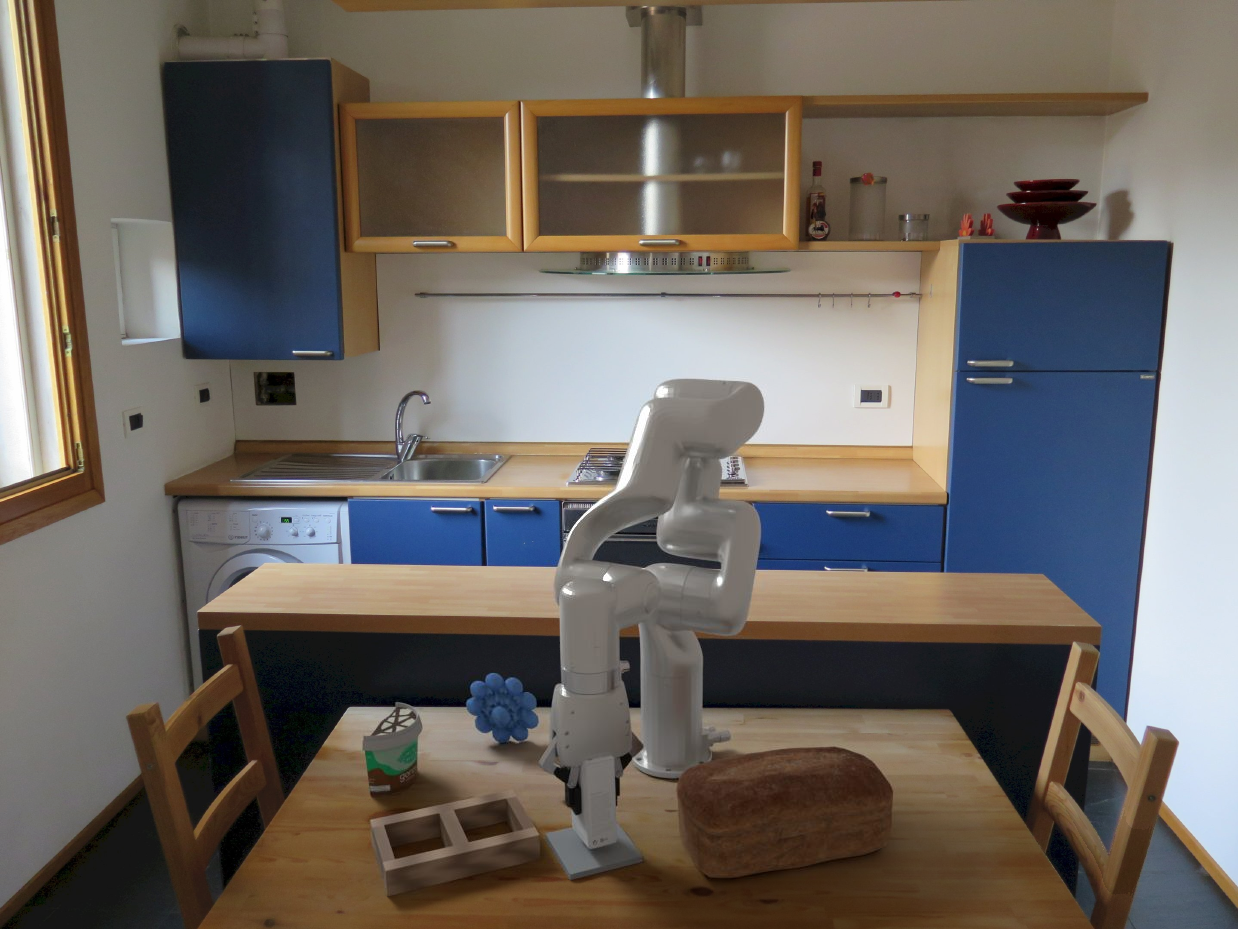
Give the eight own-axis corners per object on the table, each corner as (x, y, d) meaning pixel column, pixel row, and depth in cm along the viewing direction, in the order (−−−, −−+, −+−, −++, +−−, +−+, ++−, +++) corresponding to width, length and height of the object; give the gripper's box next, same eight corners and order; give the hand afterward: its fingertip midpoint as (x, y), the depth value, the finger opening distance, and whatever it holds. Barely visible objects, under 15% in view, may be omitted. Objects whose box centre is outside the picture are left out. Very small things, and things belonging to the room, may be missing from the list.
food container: (405, 805, 144) (401, 741, 142) (365, 801, 145) (361, 737, 143) (437, 763, 156) (434, 703, 154) (400, 760, 157) (397, 700, 155)
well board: (513, 812, 142) (512, 789, 141) (540, 859, 131) (539, 835, 130) (371, 843, 135) (369, 820, 134) (387, 896, 123) (385, 871, 123)
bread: (665, 835, 136) (665, 752, 134) (853, 804, 143) (856, 725, 141) (700, 896, 123) (700, 805, 121) (904, 859, 130) (908, 773, 128)
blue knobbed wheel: (463, 755, 158) (460, 685, 156) (470, 735, 165) (467, 667, 162) (537, 755, 158) (535, 684, 156) (540, 735, 165) (538, 667, 162)
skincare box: (618, 843, 130) (618, 757, 128) (587, 851, 129) (586, 764, 126) (599, 819, 136) (598, 737, 133) (568, 827, 134) (567, 744, 132)
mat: (613, 822, 139) (613, 817, 139) (642, 861, 130) (642, 856, 130) (545, 838, 135) (545, 833, 135) (570, 880, 126) (570, 874, 126)
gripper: (639, 655, 134) (640, 779, 138) (518, 675, 128) (522, 805, 132) (662, 676, 127) (663, 806, 131) (536, 699, 121) (540, 835, 125)
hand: (592, 804), depth 131 cm, fingers closed on skincare box, 4 cm apart
